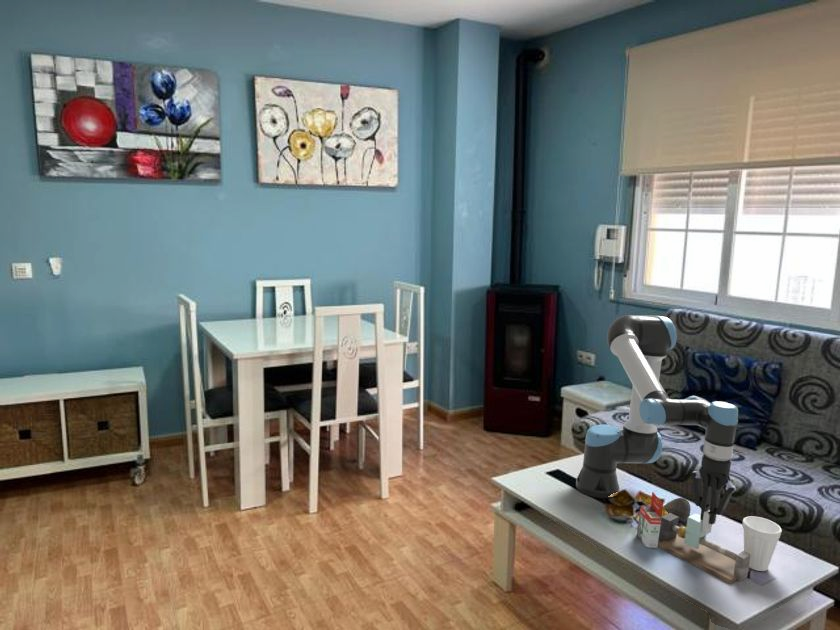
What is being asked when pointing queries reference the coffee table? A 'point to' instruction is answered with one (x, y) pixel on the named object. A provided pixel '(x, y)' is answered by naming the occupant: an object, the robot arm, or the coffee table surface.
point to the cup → (760, 541)
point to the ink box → (650, 522)
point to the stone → (679, 509)
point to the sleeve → (694, 531)
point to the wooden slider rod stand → (703, 552)
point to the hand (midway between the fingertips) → (706, 532)
